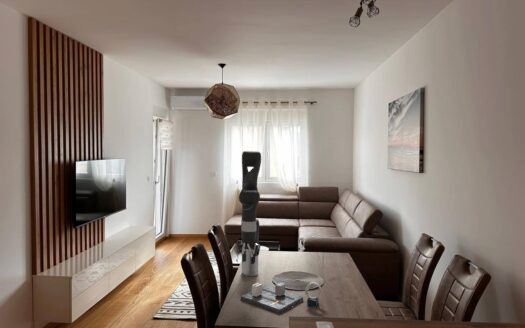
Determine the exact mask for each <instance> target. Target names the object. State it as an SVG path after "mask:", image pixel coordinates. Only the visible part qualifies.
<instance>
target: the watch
mask: <svg viewBox="0 0 525 328" xmlns="http://www.w3.org/2000/svg"><path fill="white" fill-rule="evenodd" d="M312 285H316V286H317V287H318V288H319V292H318V294H317V295H316V296H315V295H310V294H309V293H308V291H309V289H310V288H311V287H312ZM304 293H305V295H306V297H307V300H306V301H307V303H306V306H307V307H312V308H317V306H318V304H319V298H320V295H321V293H322V287H321V284H320V283H318V282H317V281H314V280H313V281H310V282H309V283H307V285H306V286H305V288H304Z"/></svg>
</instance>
